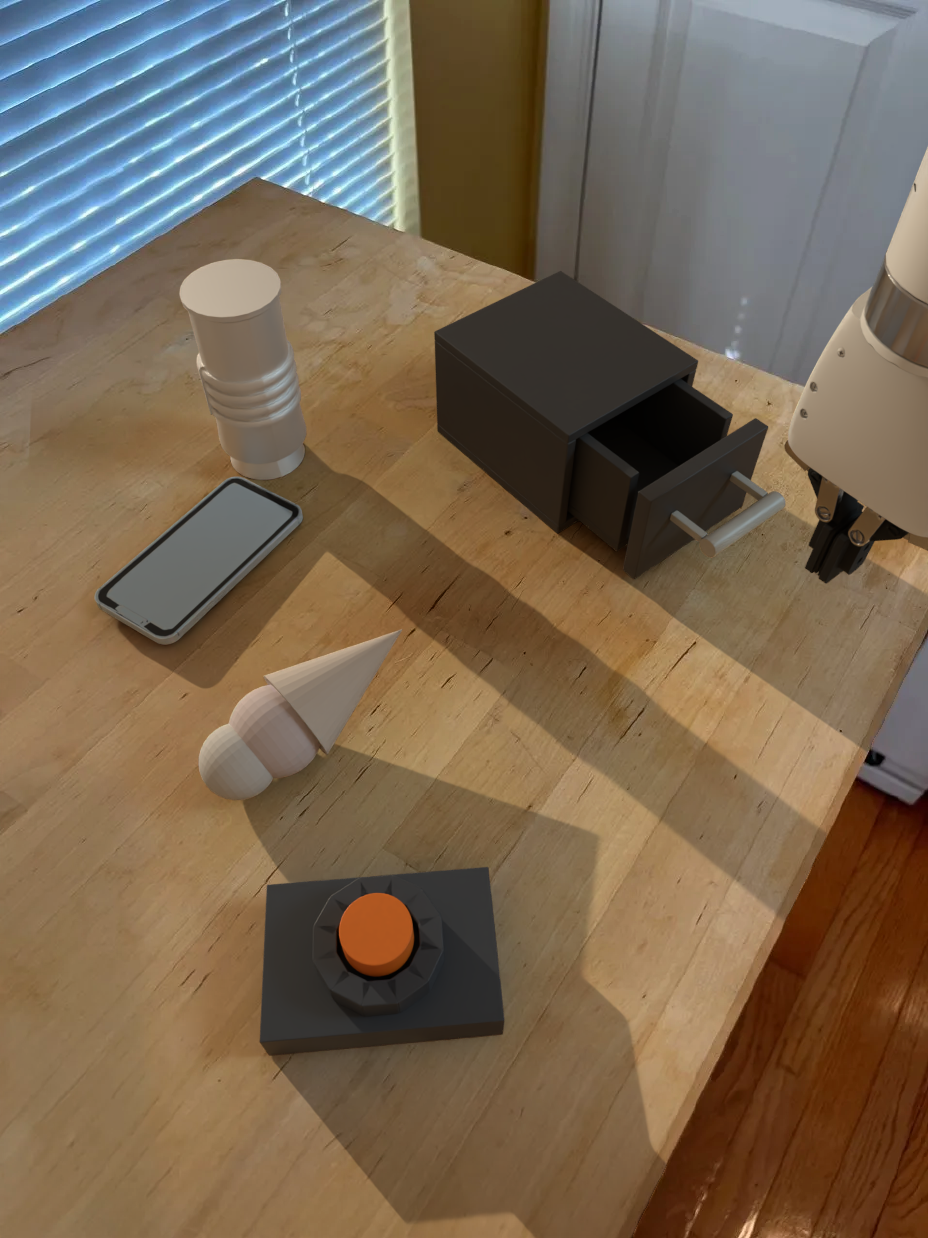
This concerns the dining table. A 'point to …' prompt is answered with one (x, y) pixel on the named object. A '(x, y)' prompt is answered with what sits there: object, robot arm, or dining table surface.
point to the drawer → (669, 478)
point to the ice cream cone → (289, 719)
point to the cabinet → (544, 384)
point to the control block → (385, 1005)
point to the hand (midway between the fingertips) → (830, 565)
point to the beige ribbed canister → (247, 365)
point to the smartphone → (198, 560)
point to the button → (376, 934)
